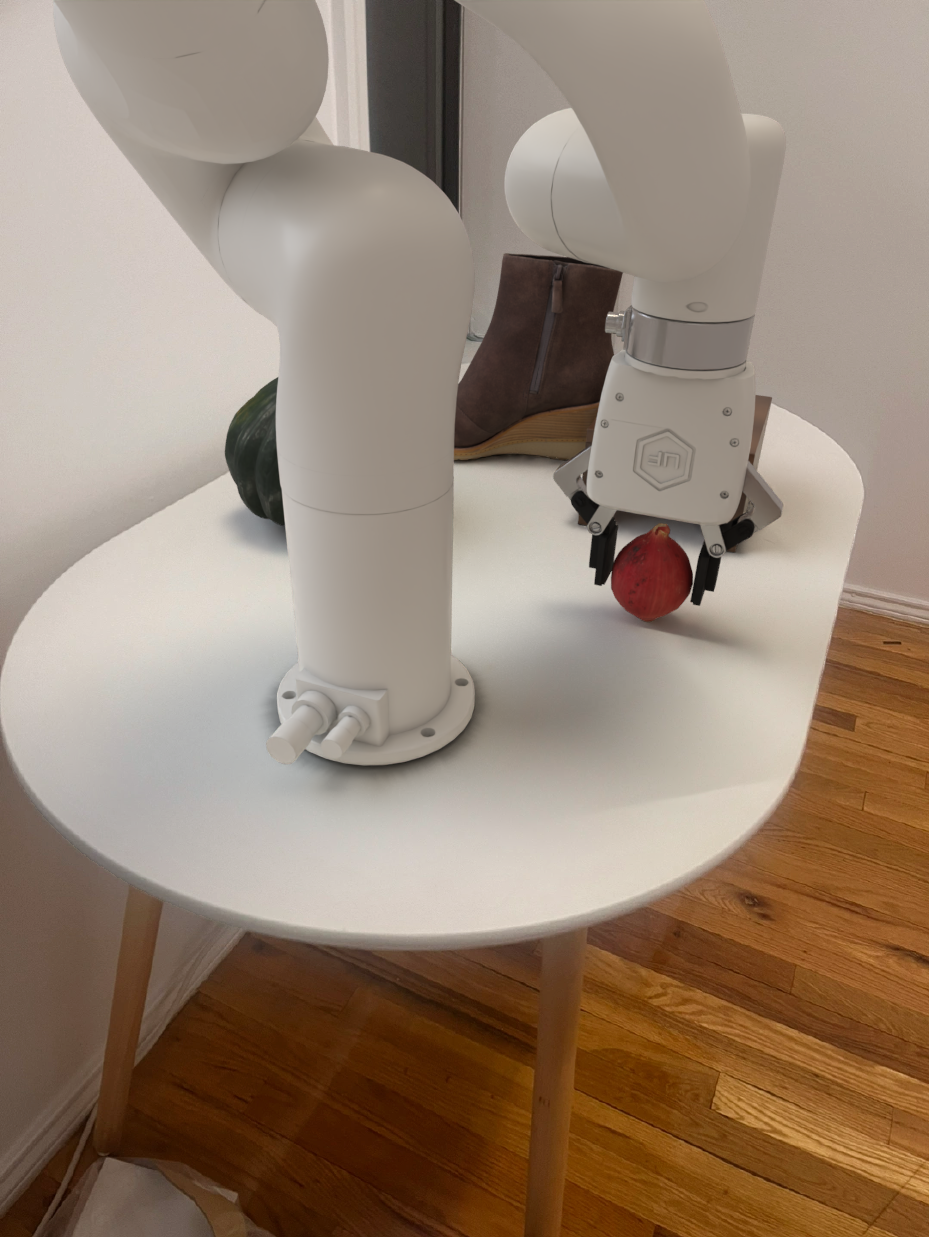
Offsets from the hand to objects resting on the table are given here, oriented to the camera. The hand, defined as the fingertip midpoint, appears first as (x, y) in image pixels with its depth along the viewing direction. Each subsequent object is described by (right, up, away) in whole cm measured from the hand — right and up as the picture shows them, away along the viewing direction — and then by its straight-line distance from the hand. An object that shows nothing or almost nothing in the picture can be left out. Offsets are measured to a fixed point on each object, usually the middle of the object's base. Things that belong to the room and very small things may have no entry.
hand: (650, 584), depth 65 cm
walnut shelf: (+6, +9, +20) cm, 22 cm away
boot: (-10, +16, +30) cm, 36 cm away
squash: (-27, +7, +16) cm, 32 cm away
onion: (0, -3, +2) cm, 3 cm away
